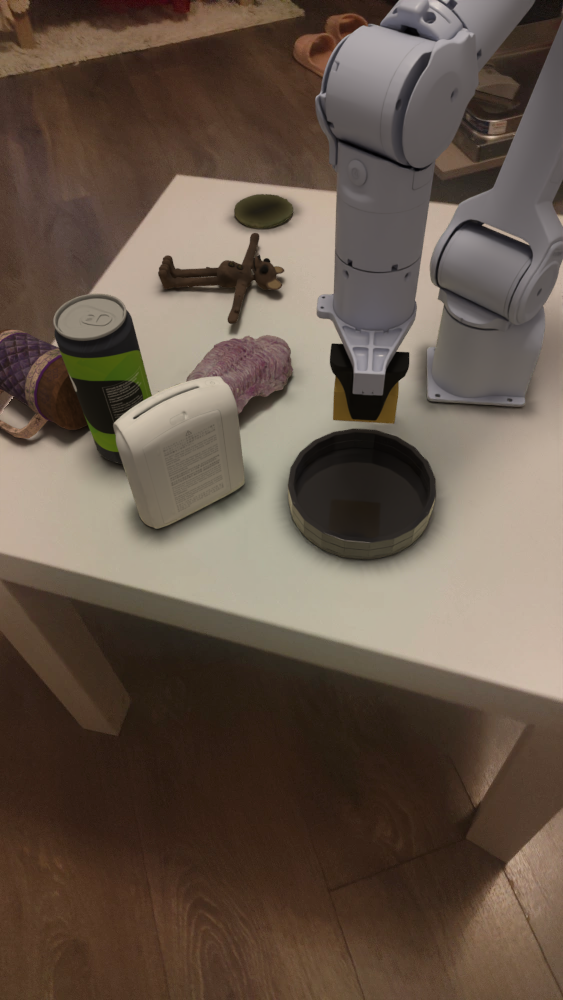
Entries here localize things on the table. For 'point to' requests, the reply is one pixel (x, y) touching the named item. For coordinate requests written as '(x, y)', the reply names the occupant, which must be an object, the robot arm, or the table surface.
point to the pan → (361, 493)
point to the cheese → (385, 417)
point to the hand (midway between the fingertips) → (365, 399)
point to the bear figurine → (226, 276)
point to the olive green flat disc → (263, 210)
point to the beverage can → (102, 363)
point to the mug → (38, 383)
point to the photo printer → (181, 449)
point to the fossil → (248, 366)
